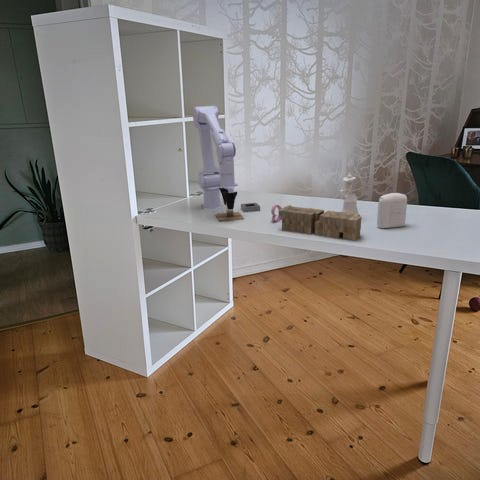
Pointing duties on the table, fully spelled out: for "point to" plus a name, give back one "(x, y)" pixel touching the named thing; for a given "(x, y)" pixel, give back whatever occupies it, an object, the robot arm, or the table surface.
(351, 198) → the figurine
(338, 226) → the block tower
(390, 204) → the off-white upright rounded block
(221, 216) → the pad
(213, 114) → the robot arm
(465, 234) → the table surface
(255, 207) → the chuck block
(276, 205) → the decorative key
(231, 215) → the silver metal cylinder
